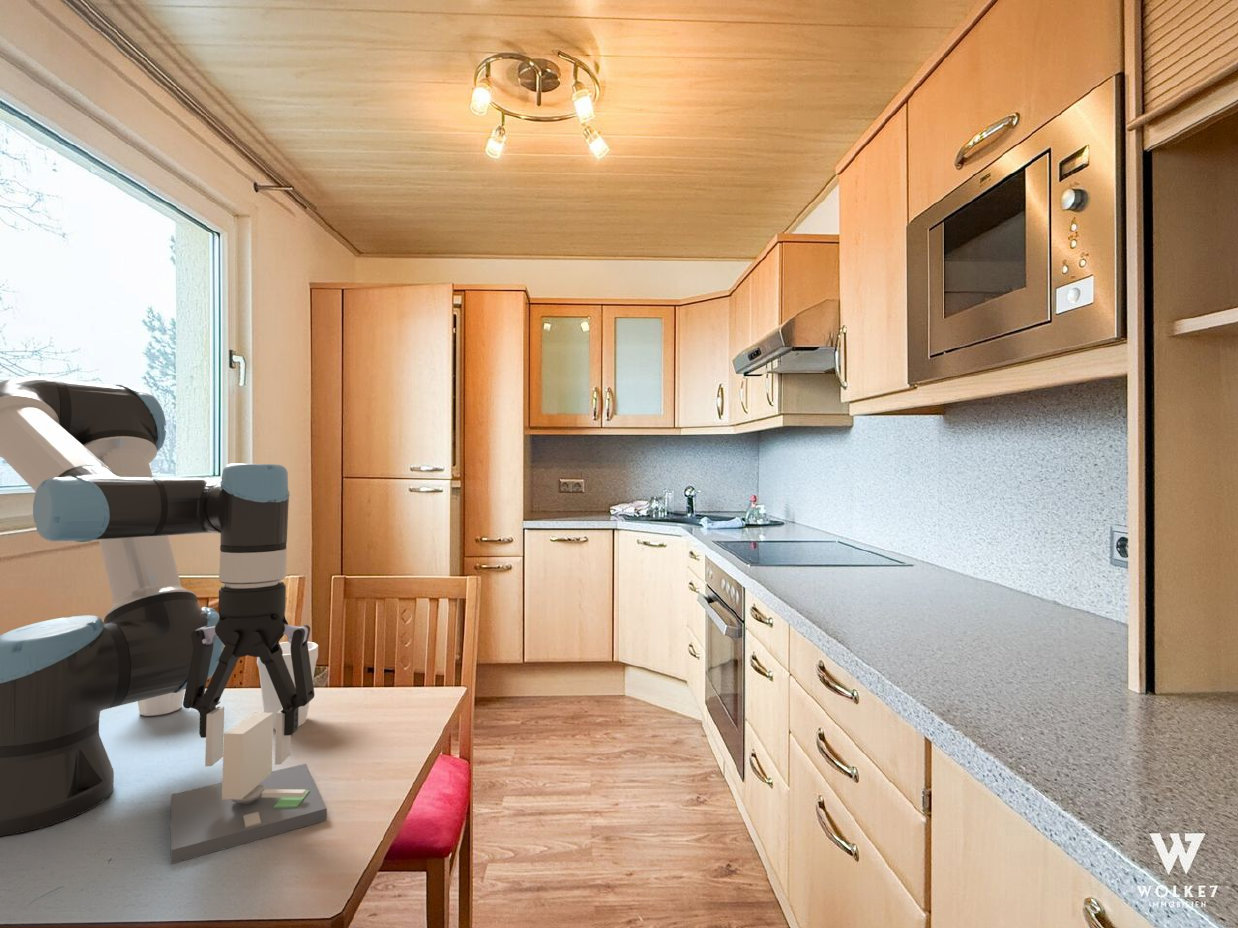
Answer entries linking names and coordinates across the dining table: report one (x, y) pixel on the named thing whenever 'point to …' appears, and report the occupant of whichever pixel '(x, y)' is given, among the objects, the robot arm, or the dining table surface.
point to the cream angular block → (250, 761)
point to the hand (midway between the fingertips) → (248, 760)
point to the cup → (161, 704)
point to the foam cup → (268, 691)
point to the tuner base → (241, 814)
